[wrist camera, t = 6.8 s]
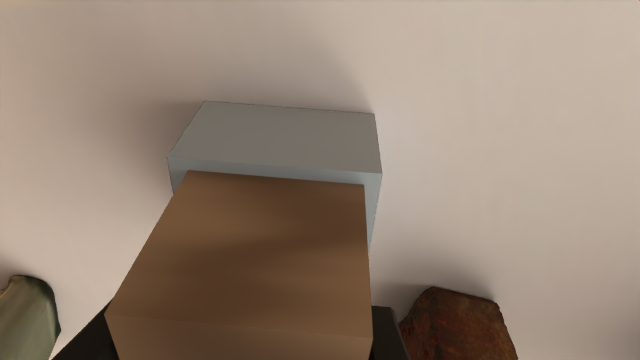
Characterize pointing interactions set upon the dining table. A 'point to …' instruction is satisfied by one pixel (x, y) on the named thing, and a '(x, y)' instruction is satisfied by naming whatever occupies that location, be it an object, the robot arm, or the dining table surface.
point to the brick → (456, 328)
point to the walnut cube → (250, 274)
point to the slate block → (282, 146)
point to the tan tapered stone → (27, 320)
